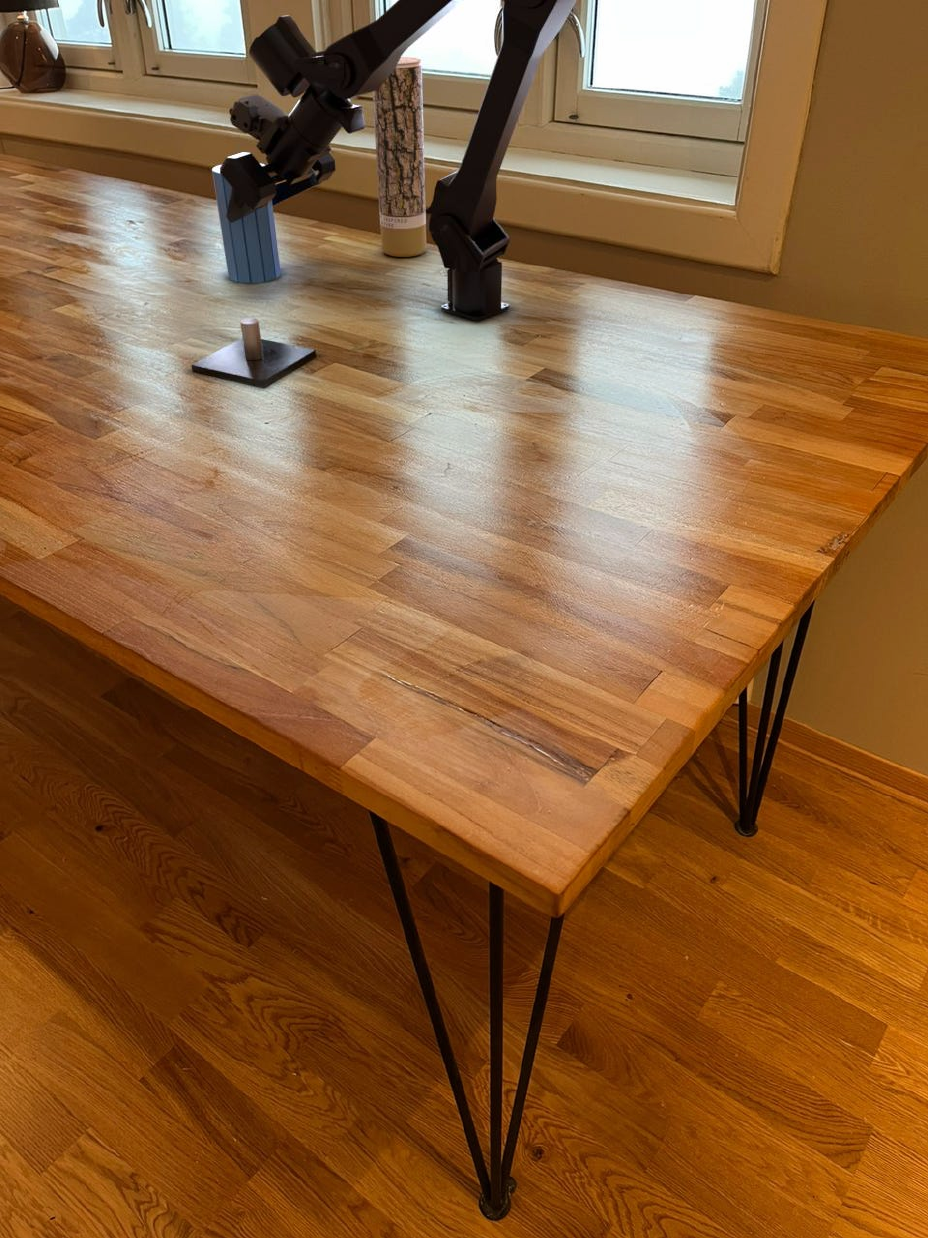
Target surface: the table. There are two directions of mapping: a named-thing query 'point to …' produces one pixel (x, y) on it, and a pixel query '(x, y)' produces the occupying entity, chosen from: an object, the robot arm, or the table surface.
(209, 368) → the peg stand
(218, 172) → the blue fluted tube
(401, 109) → the paper tube
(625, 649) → the table surface
